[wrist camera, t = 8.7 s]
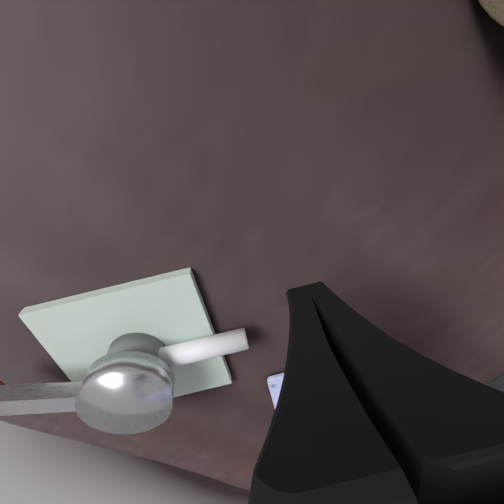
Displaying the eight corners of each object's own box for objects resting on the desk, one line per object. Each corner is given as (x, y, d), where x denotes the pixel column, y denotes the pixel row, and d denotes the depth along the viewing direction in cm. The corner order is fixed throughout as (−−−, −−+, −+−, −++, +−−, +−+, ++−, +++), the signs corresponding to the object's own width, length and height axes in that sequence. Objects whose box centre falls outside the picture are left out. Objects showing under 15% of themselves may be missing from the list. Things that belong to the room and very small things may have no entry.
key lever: (173, 349, 21) (167, 388, 18) (176, 405, 24) (172, 445, 21) (-45, 356, 19) (-85, 400, 16) (-12, 416, 22) (-41, 461, 19)
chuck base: (258, 369, 28) (263, 399, 25) (101, 407, 28) (90, 441, 25) (225, 258, 22) (227, 283, 19) (24, 307, 22) (-1, 339, 19)
